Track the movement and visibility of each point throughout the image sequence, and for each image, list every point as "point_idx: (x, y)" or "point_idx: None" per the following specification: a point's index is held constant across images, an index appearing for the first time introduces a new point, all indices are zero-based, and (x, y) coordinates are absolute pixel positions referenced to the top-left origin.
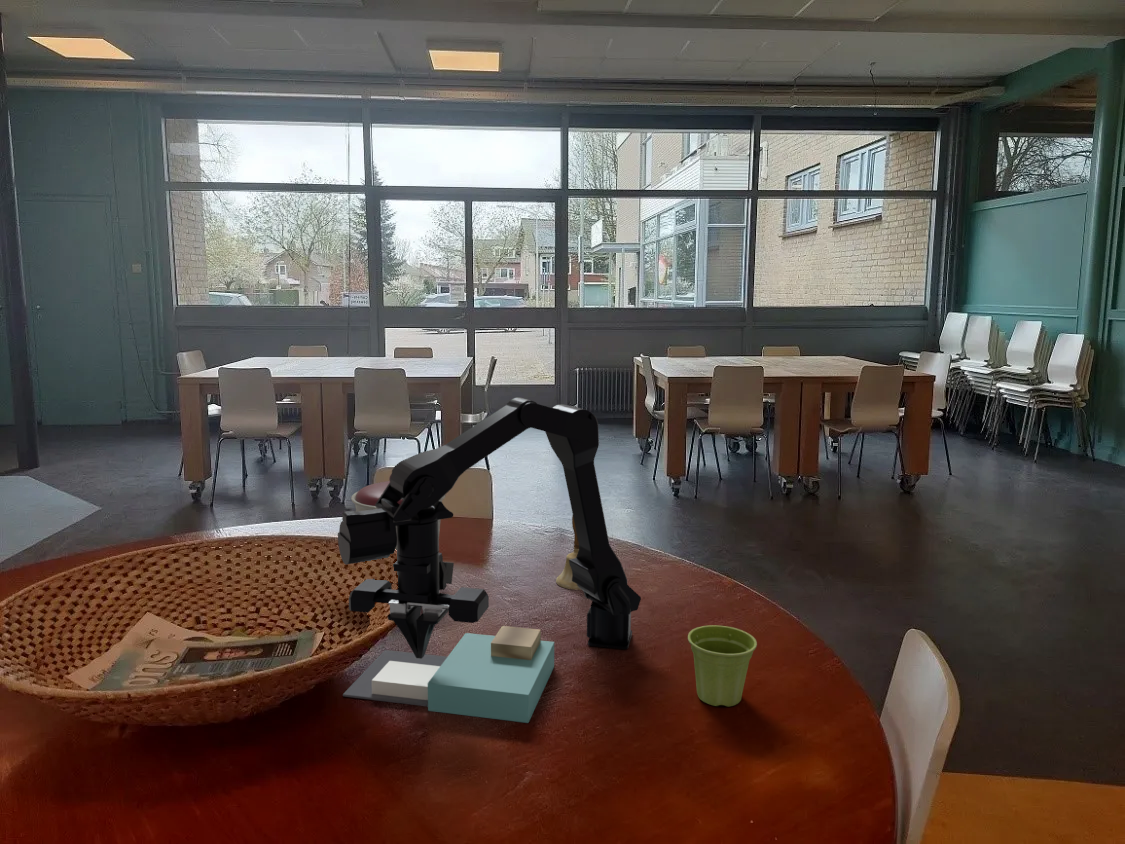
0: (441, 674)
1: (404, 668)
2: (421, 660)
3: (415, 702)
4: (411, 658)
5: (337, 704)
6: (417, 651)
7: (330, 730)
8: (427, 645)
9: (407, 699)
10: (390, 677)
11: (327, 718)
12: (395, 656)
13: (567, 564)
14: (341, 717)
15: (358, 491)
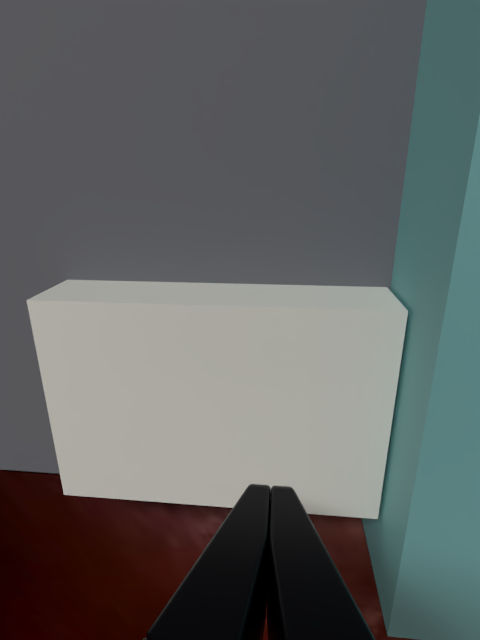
0: (446, 562)
1: (154, 369)
2: (155, 87)
3: None
4: (84, 76)
5: (17, 507)
6: (266, 605)
7: (92, 622)
8: (323, 547)
9: None
10: (133, 464)
11: (43, 575)
12: None
13: None
14: (80, 568)
15: None
